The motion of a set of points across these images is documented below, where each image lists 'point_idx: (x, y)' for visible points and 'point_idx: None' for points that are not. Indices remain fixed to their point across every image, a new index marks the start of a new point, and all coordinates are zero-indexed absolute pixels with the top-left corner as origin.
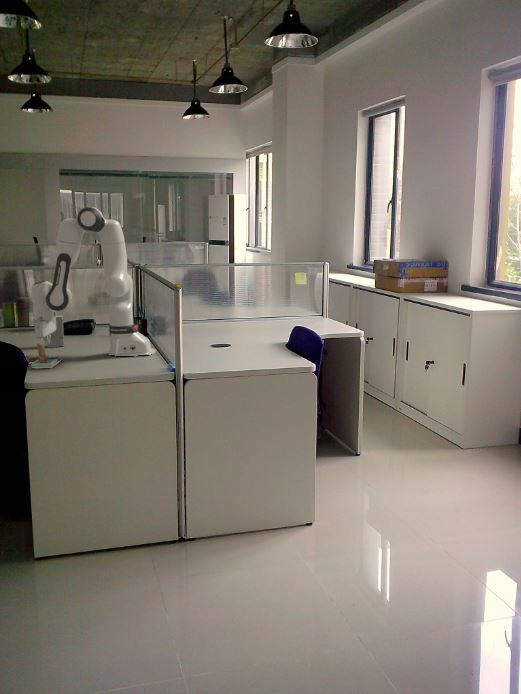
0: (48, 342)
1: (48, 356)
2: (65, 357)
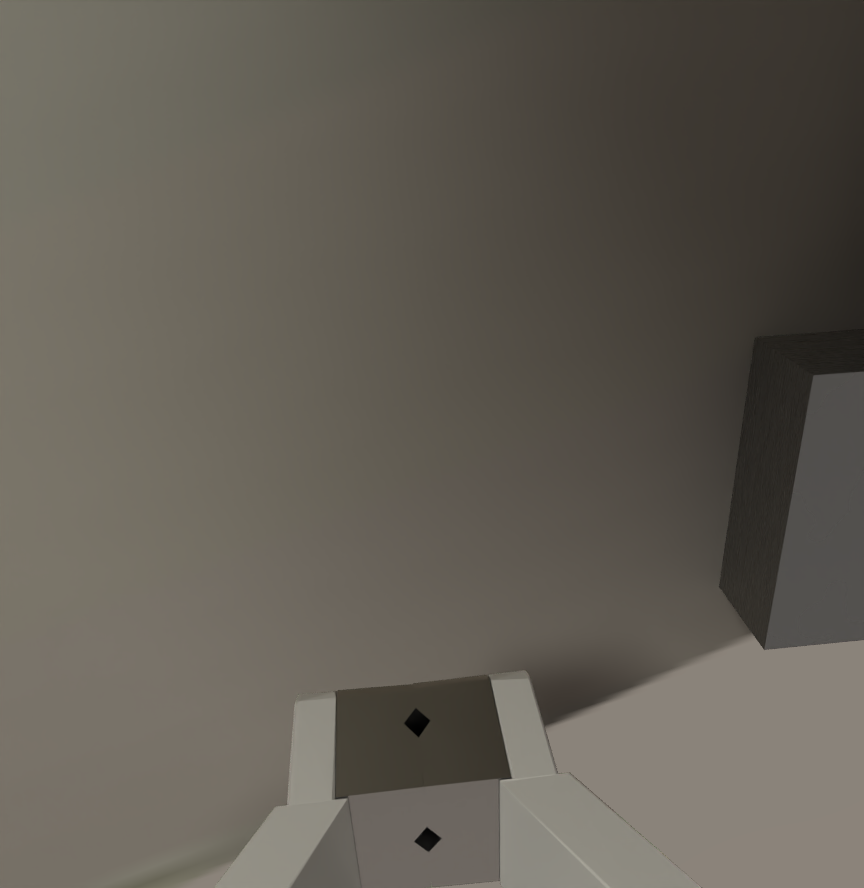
0: (522, 711)
1: (838, 369)
2: (454, 6)
